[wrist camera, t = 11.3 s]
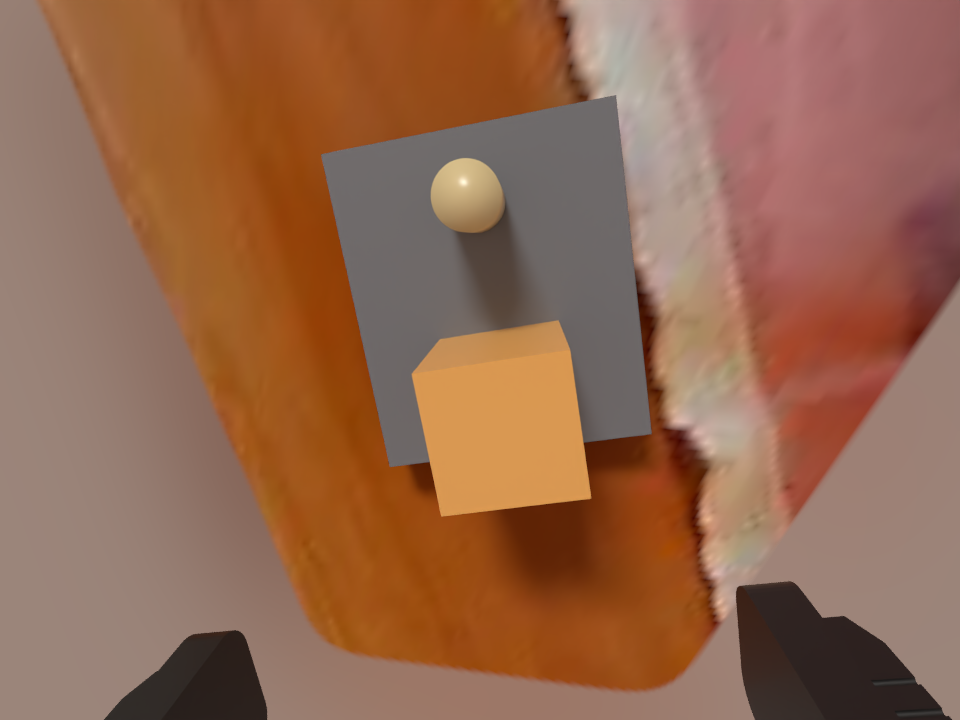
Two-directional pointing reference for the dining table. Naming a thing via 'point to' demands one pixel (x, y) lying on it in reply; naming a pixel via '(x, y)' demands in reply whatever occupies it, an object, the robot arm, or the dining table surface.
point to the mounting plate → (494, 256)
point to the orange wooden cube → (502, 420)
